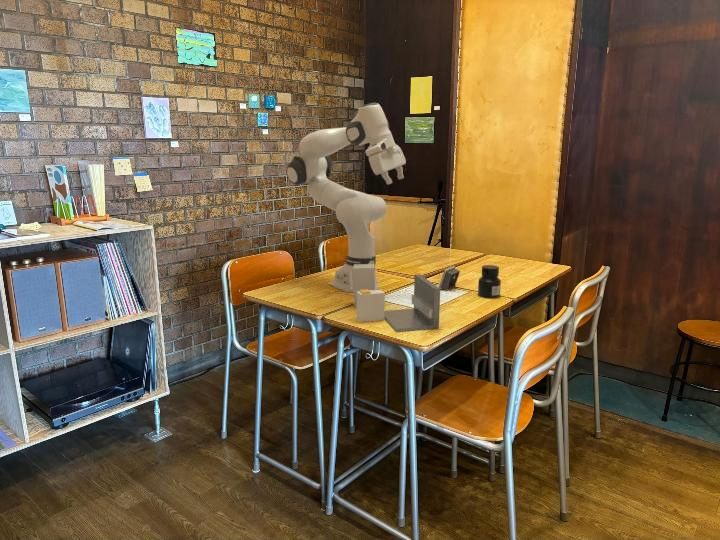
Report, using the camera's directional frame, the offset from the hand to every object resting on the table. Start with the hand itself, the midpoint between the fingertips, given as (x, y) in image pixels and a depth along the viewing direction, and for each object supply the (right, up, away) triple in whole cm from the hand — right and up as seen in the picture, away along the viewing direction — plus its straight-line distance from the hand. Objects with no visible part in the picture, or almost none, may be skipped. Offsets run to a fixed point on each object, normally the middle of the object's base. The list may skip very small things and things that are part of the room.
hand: (395, 181), depth 205 cm
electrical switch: (+25, -41, +31) cm, 57 cm away
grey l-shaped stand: (+4, -51, -11) cm, 52 cm away
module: (-10, -51, -10) cm, 52 cm away
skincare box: (-12, -47, +7) cm, 49 cm away
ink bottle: (+39, -44, +20) cm, 62 cm away
